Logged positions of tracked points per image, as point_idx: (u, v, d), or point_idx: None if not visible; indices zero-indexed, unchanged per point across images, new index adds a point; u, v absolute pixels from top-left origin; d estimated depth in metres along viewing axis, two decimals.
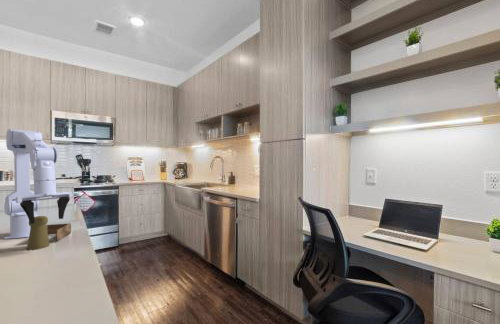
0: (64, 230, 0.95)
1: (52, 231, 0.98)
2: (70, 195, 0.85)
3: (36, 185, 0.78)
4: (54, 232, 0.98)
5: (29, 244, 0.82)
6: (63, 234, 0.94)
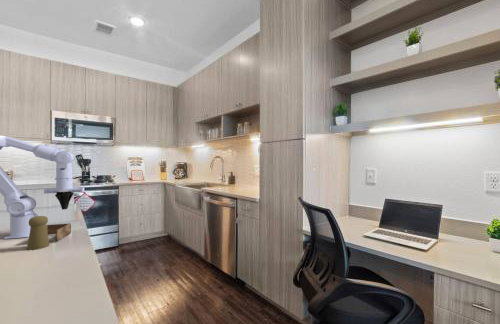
0: (64, 230, 0.95)
1: (52, 231, 0.98)
2: None
3: (72, 180, 1.05)
4: (54, 232, 0.98)
5: (29, 244, 0.82)
6: (63, 234, 0.94)
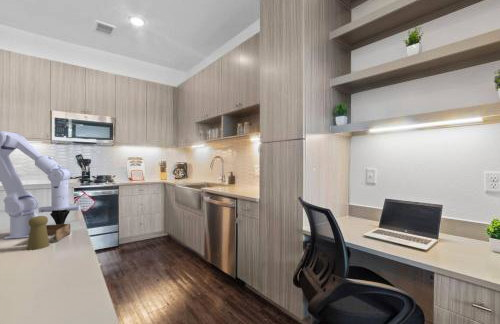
0: (63, 230, 0.94)
1: (51, 231, 0.97)
2: None
3: (68, 198, 1.02)
4: (53, 232, 0.98)
5: (29, 244, 0.82)
6: (62, 234, 0.94)
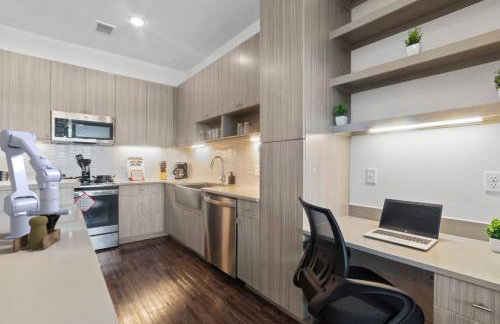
0: (52, 237, 0.86)
1: None
2: None
3: (58, 201, 0.94)
4: None
5: (29, 244, 0.82)
6: (51, 241, 0.86)
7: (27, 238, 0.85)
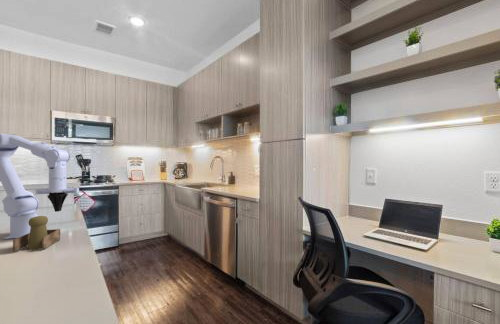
0: (52, 237, 0.86)
1: None
2: None
3: (66, 180, 0.98)
4: None
5: (29, 244, 0.82)
6: (51, 241, 0.86)
7: (27, 238, 0.85)
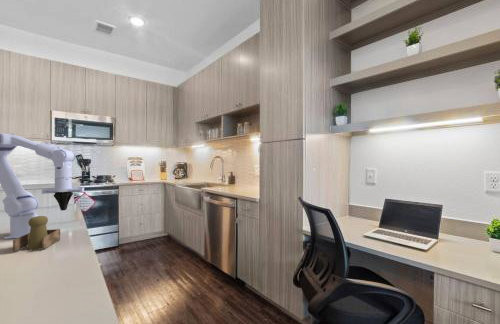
0: (52, 237, 0.86)
1: None
2: None
3: (71, 180, 1.01)
4: None
5: (29, 244, 0.82)
6: (51, 241, 0.86)
7: (27, 238, 0.85)
